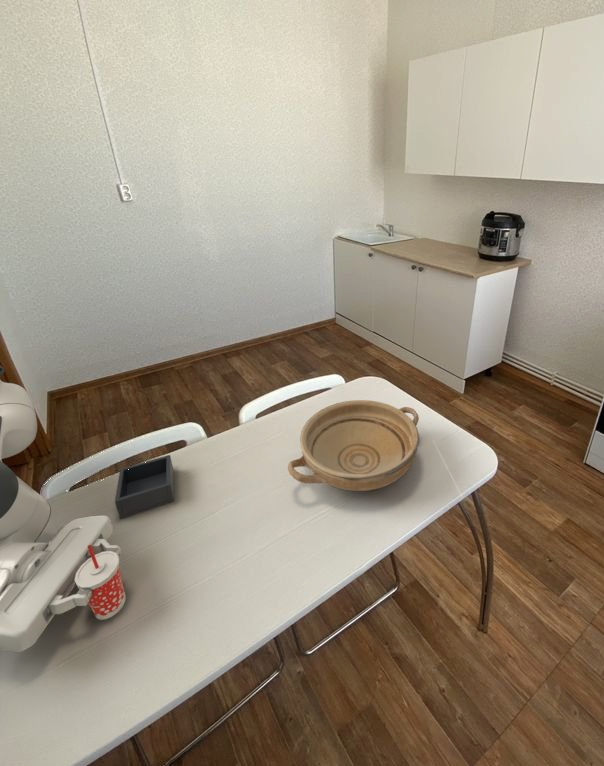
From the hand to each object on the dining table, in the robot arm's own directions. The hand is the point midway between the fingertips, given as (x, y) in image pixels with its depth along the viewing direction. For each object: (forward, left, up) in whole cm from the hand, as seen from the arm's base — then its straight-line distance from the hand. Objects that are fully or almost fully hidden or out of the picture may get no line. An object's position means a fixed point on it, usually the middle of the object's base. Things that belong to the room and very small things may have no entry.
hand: (104, 574), depth 63 cm
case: (-3, +25, -8) cm, 27 cm away
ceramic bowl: (+47, +25, -8) cm, 54 cm away
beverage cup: (-1, 0, -8) cm, 8 cm away
